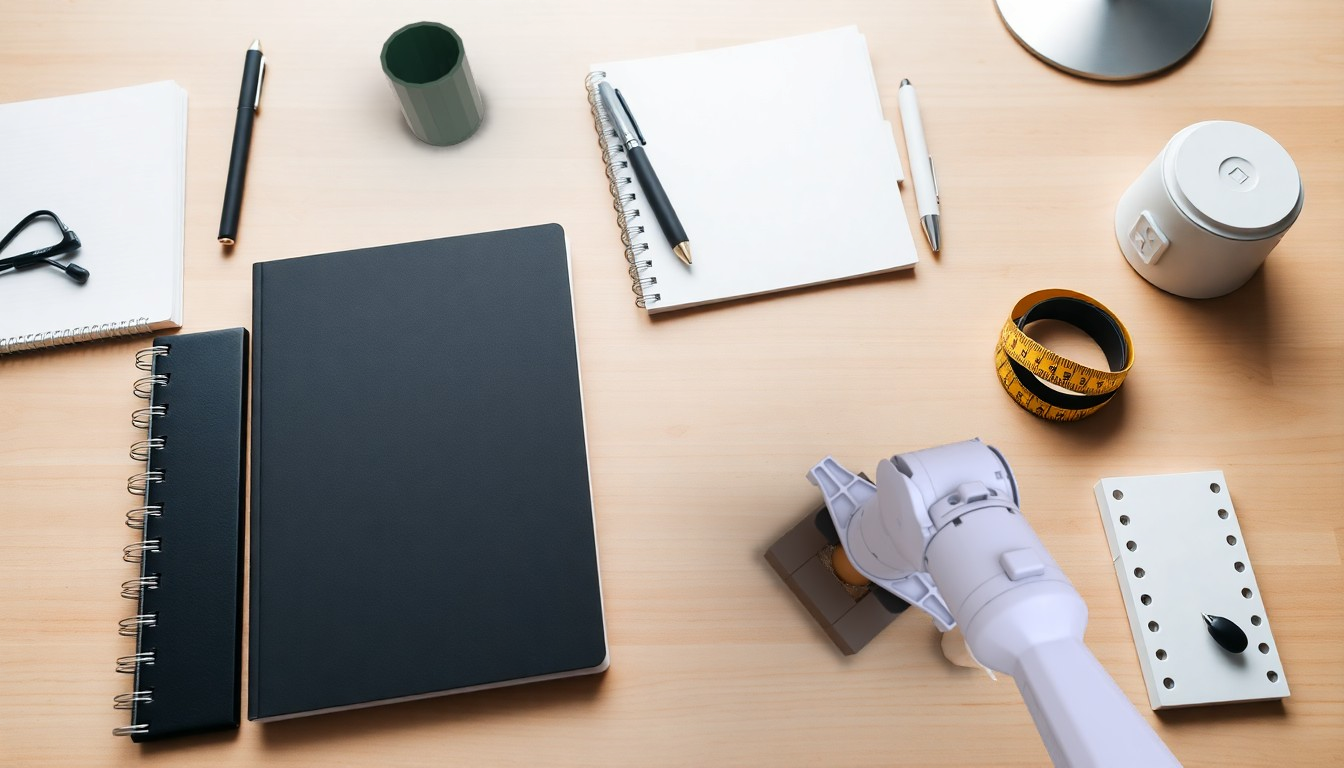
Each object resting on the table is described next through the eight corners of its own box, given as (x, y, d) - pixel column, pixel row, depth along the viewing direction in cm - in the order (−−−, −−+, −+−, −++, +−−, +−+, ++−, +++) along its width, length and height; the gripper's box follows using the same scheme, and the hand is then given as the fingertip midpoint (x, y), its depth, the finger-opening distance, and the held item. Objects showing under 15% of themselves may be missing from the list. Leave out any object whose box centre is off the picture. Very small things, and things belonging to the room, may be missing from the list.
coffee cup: (498, 119, 88) (479, 59, 80) (434, 159, 86) (409, 101, 78) (456, 72, 90) (434, 8, 82) (393, 109, 89) (364, 48, 80)
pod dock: (936, 576, 72) (950, 569, 68) (845, 656, 69) (855, 654, 66) (852, 482, 74) (862, 470, 71) (762, 555, 72) (767, 548, 68)
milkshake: (923, 671, 69) (963, 667, 59) (941, 609, 71) (982, 596, 61) (976, 692, 68) (1025, 692, 59) (993, 630, 70) (1042, 620, 61)
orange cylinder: (888, 566, 70) (914, 550, 62) (853, 596, 69) (875, 584, 61) (855, 529, 71) (877, 509, 63) (820, 558, 70) (838, 542, 62)
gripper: (1025, 576, 54) (957, 599, 67) (872, 410, 58) (836, 461, 71) (948, 647, 52) (894, 656, 65) (796, 471, 56) (773, 512, 69)
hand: (859, 558), depth 68 cm, fingers closed on orange cylinder, 4 cm apart
